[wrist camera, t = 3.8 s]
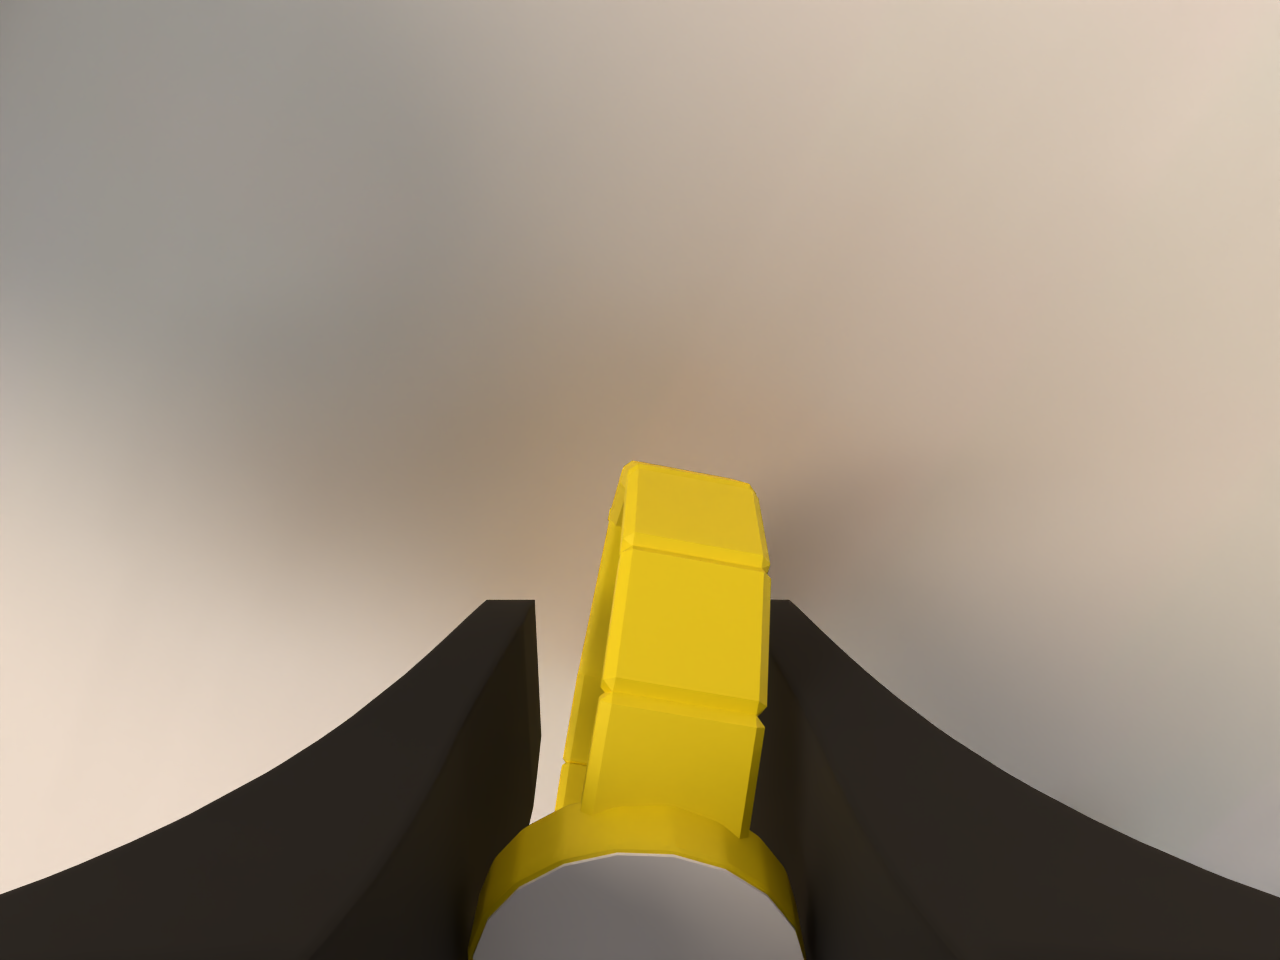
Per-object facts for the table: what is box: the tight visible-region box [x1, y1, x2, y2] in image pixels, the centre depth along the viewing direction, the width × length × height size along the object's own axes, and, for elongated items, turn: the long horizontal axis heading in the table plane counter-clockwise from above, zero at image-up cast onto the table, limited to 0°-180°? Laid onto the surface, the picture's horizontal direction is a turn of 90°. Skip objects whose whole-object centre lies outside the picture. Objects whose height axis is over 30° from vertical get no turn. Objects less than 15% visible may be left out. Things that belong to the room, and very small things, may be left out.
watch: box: [468, 460, 806, 960], centre depth 10 cm, size 6×3×6 cm, turn 169°
